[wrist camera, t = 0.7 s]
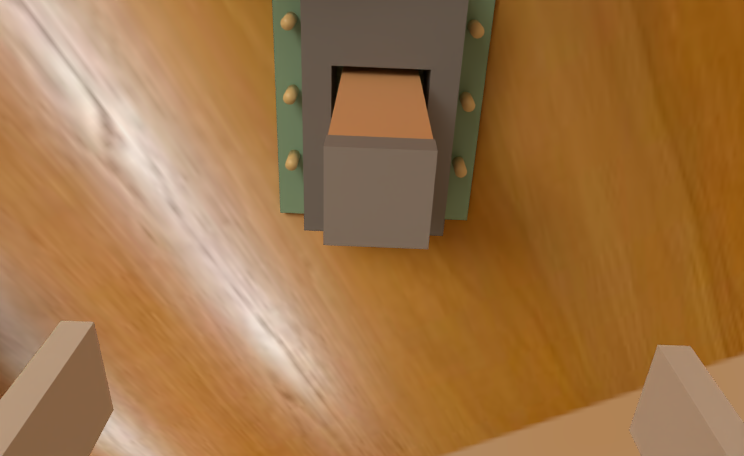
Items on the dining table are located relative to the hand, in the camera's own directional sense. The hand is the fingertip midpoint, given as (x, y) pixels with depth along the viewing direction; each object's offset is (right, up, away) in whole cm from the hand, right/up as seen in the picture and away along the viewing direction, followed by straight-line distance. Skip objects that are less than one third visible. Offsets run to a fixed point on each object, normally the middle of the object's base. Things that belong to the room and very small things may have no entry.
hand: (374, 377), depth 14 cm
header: (0, +12, +21) cm, 24 cm away
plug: (0, +11, +20) cm, 23 cm away
